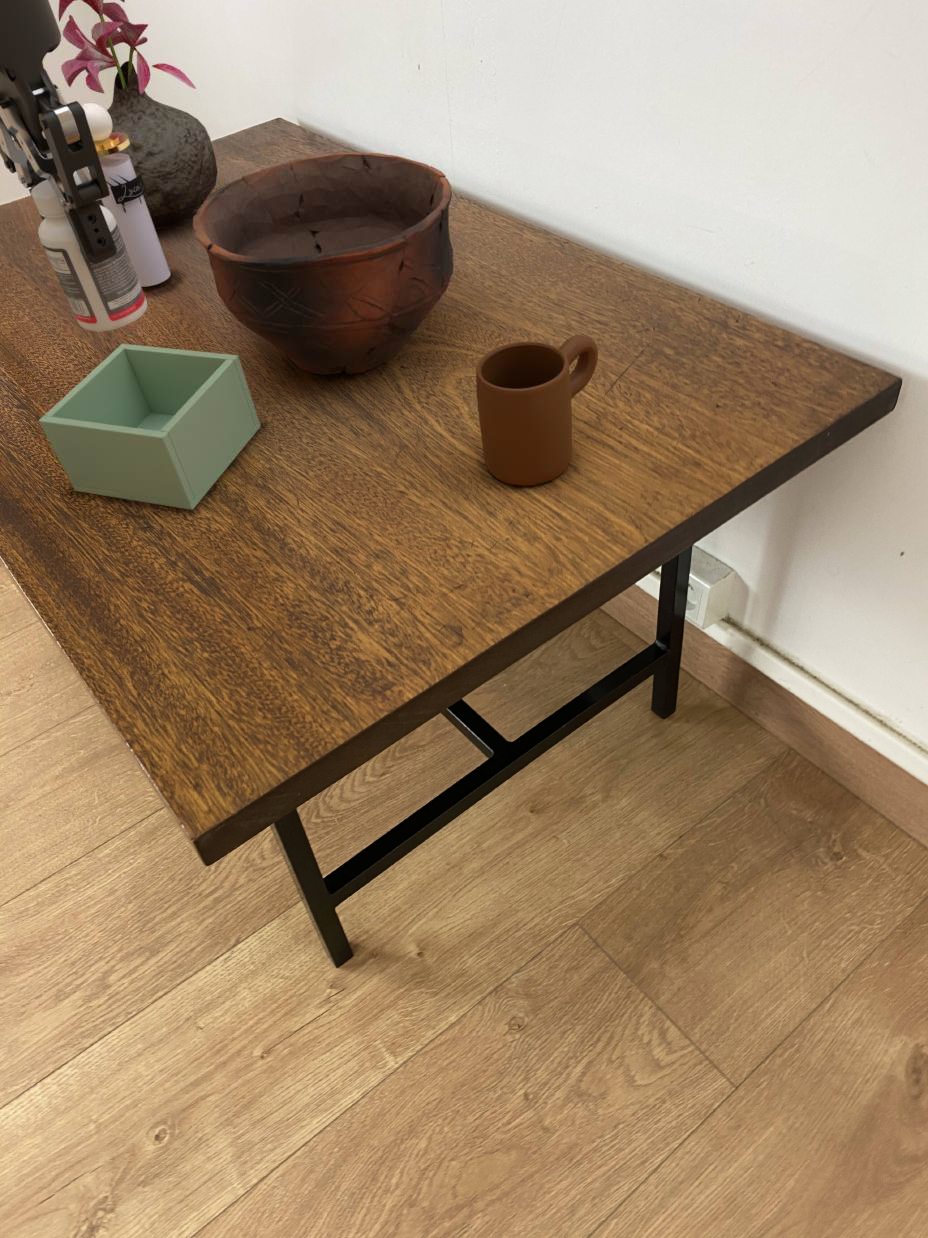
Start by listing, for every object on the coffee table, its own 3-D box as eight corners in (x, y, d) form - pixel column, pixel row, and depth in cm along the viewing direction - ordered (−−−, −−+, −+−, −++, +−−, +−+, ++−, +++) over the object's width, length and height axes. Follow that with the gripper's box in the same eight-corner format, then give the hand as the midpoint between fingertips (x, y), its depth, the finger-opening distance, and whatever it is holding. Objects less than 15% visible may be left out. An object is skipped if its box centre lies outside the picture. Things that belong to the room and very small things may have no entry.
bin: (192, 510, 78) (162, 437, 73) (74, 490, 82) (37, 420, 76) (261, 426, 86) (238, 354, 81) (150, 412, 90) (121, 343, 84)
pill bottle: (150, 292, 71) (100, 163, 64) (148, 324, 68) (95, 191, 61) (81, 306, 71) (24, 177, 64) (76, 339, 67) (14, 207, 60)
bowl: (515, 310, 96) (505, 161, 85) (376, 436, 83) (343, 278, 72) (336, 270, 107) (306, 134, 96) (188, 375, 94) (134, 231, 83)
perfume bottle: (120, 288, 110) (49, 109, 95) (157, 268, 113) (93, 91, 98) (150, 298, 107) (81, 115, 93) (187, 277, 110) (125, 96, 95)
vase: (84, 243, 121) (-29, -27, 99) (150, 189, 132) (62, -65, 110) (193, 247, 116) (101, -35, 94) (253, 190, 127) (182, -74, 105)
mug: (564, 403, 83) (562, 308, 76) (626, 436, 79) (629, 338, 72) (466, 463, 79) (454, 368, 72) (526, 501, 74) (519, 403, 67)
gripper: (-135, -30, 56) (-2, 240, 68) (-54, -5, 48) (80, 297, 60) (-19, -60, 59) (88, 204, 71) (76, -41, 51) (178, 253, 63)
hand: (84, 245), depth 65 cm, fingers closed on pill bottle, 5 cm apart
